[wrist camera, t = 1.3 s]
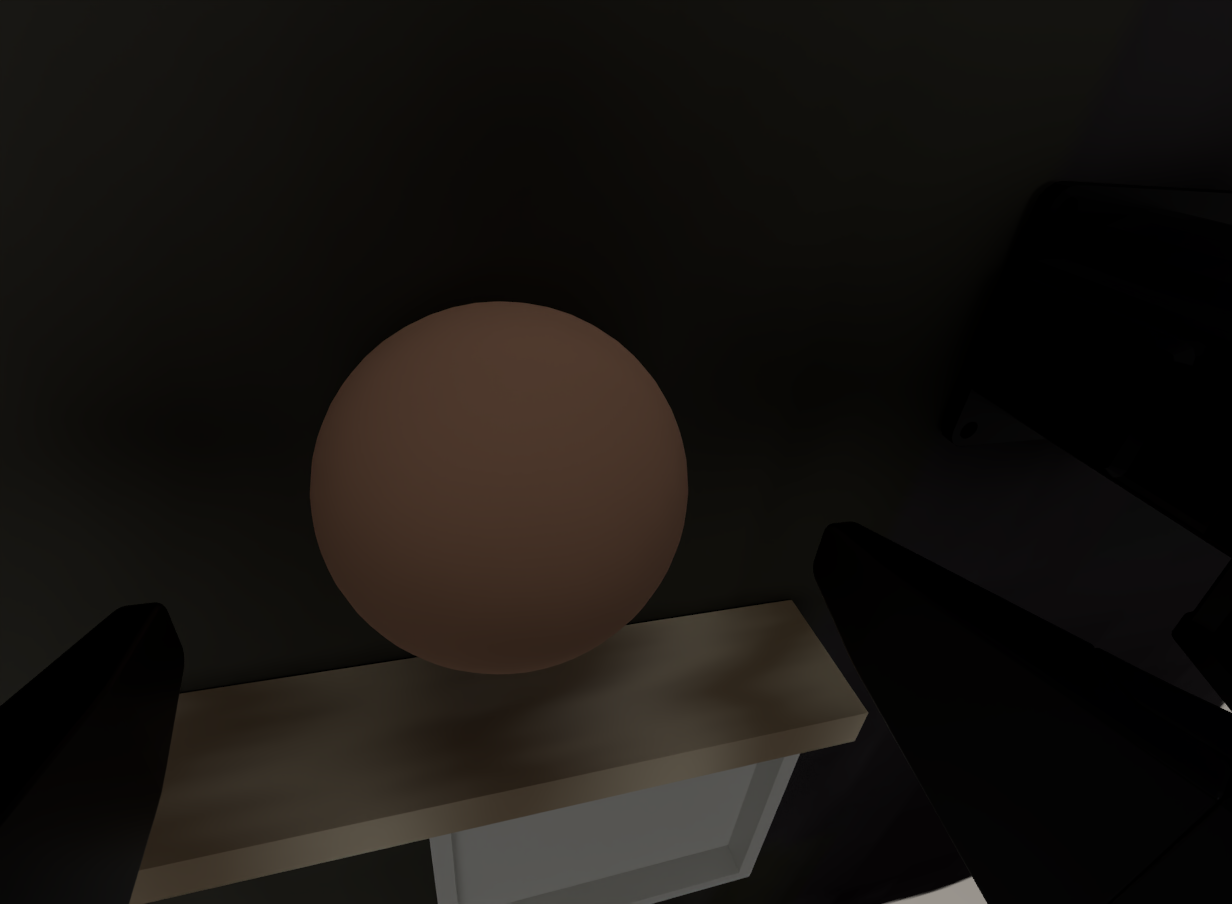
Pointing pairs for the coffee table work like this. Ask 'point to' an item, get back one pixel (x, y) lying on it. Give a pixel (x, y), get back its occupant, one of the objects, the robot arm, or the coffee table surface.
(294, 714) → the rail
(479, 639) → the ball
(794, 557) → the coffee table surface
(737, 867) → the coaster tray
